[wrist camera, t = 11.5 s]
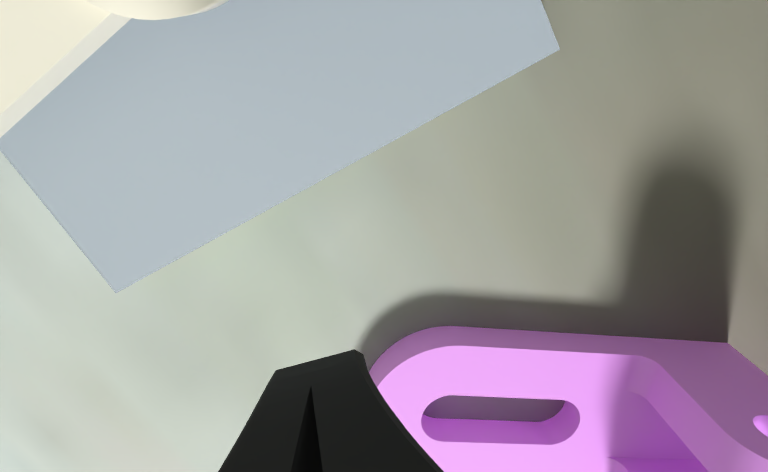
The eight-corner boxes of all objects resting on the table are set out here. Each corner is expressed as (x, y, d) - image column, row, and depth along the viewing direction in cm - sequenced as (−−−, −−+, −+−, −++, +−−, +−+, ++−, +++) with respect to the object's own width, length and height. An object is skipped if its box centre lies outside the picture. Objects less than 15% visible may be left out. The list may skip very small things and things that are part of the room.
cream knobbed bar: (169, -251, 12) (131, -318, 9) (306, -68, 13) (307, -83, 11) (-174, 85, 13) (-289, 107, 11) (-16, 219, 15) (-84, 266, 12)
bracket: (725, 340, 23) (893, 479, 16) (679, 464, 25) (814, 631, 18) (372, 319, 20) (404, 468, 14) (352, 455, 22) (372, 642, 16)
